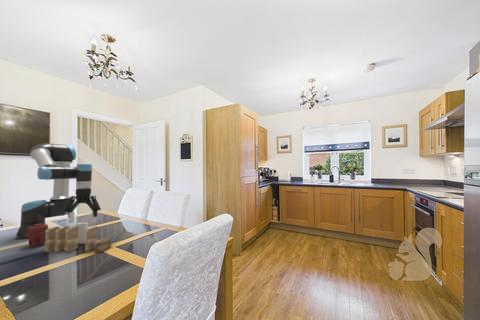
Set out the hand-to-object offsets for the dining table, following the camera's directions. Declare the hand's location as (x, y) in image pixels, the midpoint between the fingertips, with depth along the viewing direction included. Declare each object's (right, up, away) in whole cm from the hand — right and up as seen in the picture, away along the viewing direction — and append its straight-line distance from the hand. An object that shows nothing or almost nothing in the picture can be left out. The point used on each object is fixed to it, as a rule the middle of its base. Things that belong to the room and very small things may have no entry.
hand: (82, 222), depth 118 cm
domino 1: (-9, -12, -10) cm, 18 cm away
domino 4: (0, -12, 0) cm, 12 cm away
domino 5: (+13, -12, -10) cm, 20 cm away
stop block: (+20, -12, -10) cm, 25 cm away
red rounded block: (-24, -13, -4) cm, 27 cm away
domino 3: (+2, -12, -10) cm, 16 cm away
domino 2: (-3, -12, -10) cm, 16 cm away
